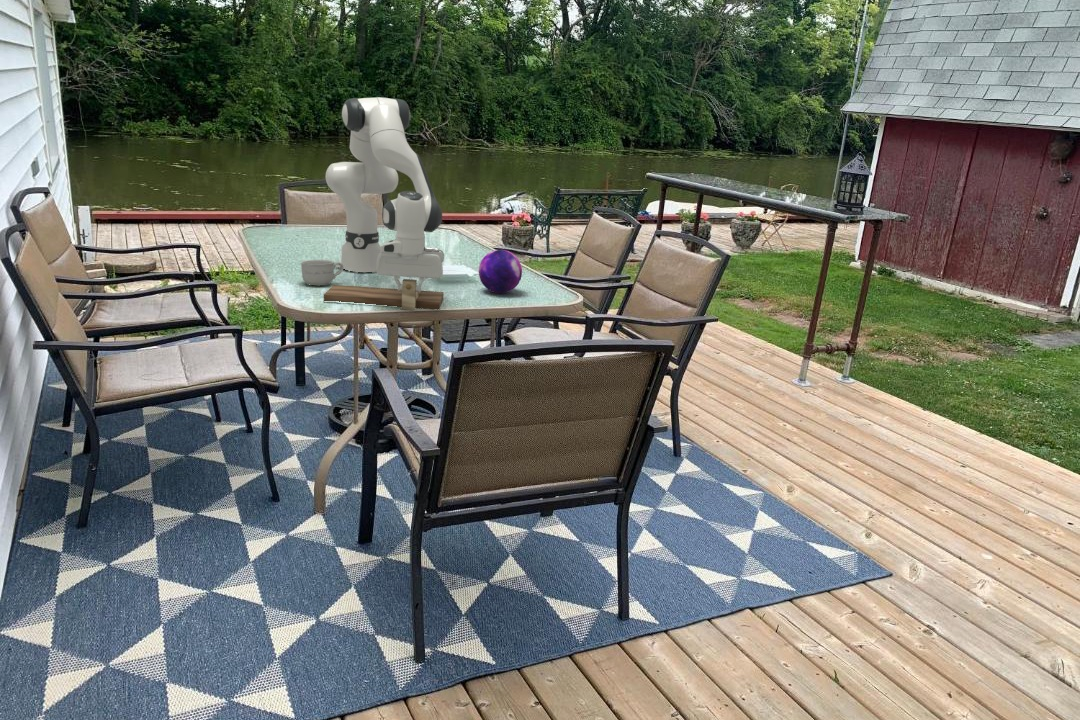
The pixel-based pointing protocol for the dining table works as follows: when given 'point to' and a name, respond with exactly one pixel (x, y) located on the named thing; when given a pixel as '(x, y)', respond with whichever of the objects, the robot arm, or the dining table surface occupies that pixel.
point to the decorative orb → (500, 271)
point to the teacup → (319, 271)
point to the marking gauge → (409, 294)
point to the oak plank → (381, 296)
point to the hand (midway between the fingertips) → (409, 290)
